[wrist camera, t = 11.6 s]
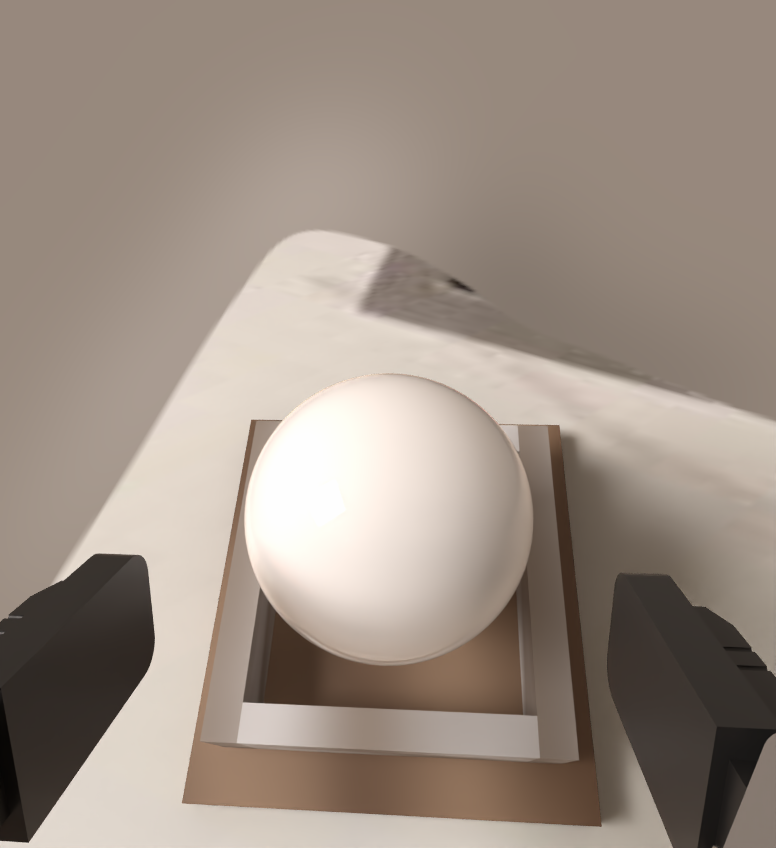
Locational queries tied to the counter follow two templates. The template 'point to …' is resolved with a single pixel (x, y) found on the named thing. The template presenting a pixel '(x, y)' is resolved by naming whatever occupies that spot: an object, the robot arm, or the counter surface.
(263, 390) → the counter surface
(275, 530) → the lightbulb
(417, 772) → the socket board
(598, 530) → the counter surface
